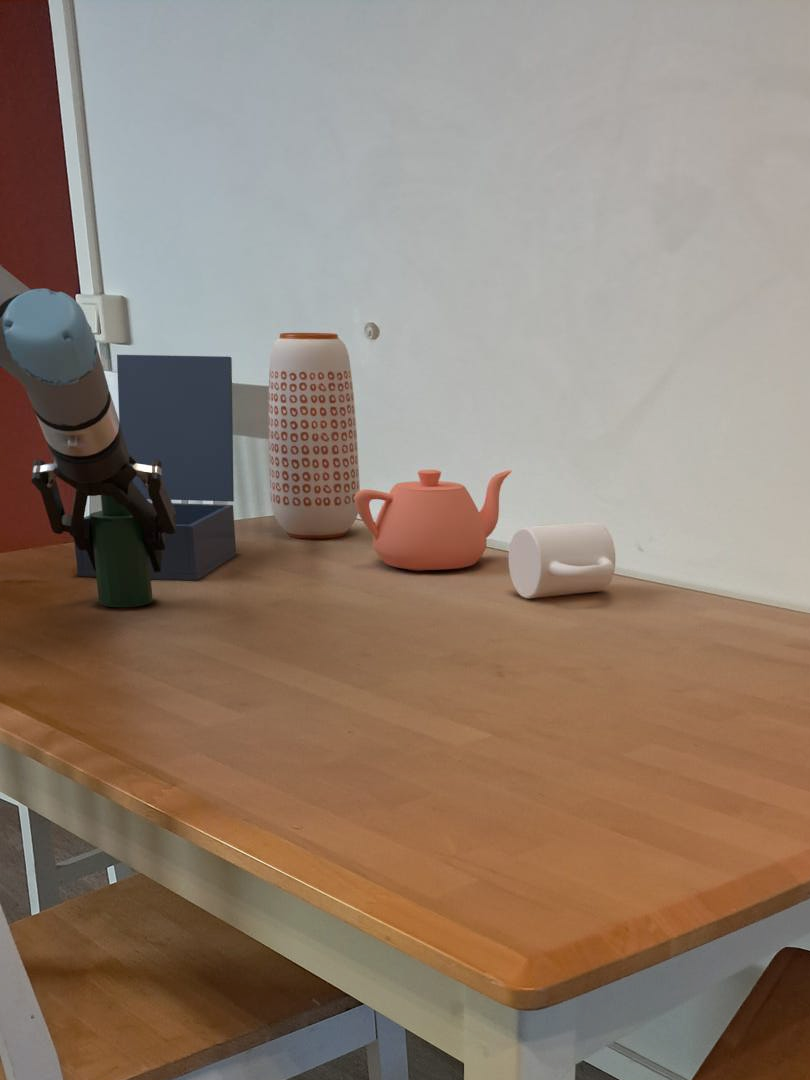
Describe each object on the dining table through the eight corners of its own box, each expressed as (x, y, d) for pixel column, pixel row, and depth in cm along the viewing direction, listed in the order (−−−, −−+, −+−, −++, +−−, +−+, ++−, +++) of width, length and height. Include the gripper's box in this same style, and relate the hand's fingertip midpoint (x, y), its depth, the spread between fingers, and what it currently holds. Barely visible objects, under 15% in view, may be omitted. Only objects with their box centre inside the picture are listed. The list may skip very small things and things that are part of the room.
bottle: (91, 606, 146) (78, 489, 141) (110, 594, 151) (99, 482, 146) (141, 608, 145) (130, 491, 140) (159, 596, 151) (149, 483, 145)
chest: (196, 580, 161) (192, 525, 158) (78, 576, 162) (71, 522, 160) (236, 554, 177) (233, 504, 174) (128, 551, 178) (123, 501, 176)
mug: (506, 591, 157) (508, 522, 154) (579, 584, 162) (582, 517, 158) (557, 612, 147) (560, 539, 144) (633, 604, 151) (637, 533, 148)
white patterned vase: (353, 542, 186) (347, 335, 175) (264, 541, 187) (252, 334, 176) (366, 527, 199) (361, 332, 187) (282, 526, 199) (272, 331, 188)
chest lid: (229, 356, 169) (244, 363, 176) (116, 354, 171) (134, 361, 177) (232, 501, 174) (245, 502, 180) (121, 498, 175) (139, 499, 182)
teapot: (490, 549, 183) (492, 461, 178) (531, 569, 170) (534, 474, 165) (342, 558, 175) (339, 465, 170) (372, 579, 163) (370, 480, 158)
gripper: (-19, 460, 127) (43, 589, 148) (176, 461, 128) (209, 589, 149) (-11, 399, 129) (48, 534, 151) (180, 401, 131) (211, 535, 152)
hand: (128, 561), depth 150 cm, fingers closed on bottle, 6 cm apart
